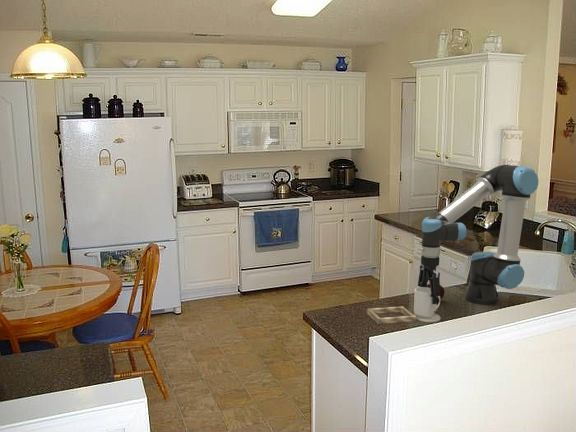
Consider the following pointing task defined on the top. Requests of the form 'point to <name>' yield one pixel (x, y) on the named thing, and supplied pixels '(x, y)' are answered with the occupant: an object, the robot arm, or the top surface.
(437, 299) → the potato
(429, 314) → the mug
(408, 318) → the wooden picture frame
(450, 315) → the top surface
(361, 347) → the top surface
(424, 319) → the plate
